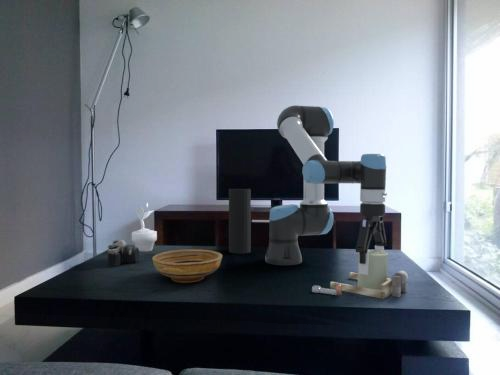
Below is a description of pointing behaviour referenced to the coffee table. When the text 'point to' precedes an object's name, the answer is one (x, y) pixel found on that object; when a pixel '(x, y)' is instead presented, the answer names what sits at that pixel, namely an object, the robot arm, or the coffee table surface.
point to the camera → (121, 254)
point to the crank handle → (328, 290)
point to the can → (374, 270)
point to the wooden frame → (389, 287)
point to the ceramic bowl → (187, 264)
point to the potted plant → (144, 233)
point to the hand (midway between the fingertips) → (371, 269)
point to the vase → (239, 221)
